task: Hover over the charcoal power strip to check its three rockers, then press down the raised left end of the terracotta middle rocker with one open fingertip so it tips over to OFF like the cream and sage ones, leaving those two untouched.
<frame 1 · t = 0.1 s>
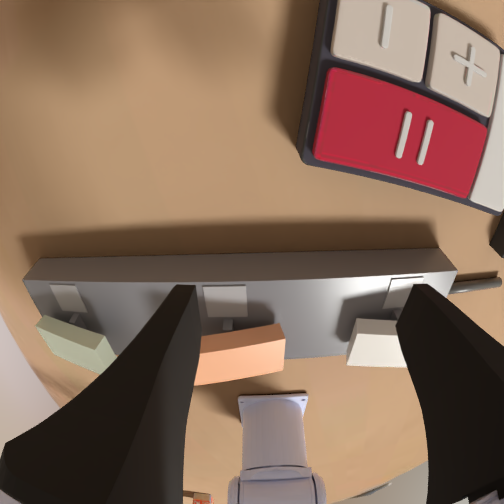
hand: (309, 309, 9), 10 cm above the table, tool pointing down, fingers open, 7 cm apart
rocker 2: (76, 346, 19), point 5 cm above the table, hinge at -12.0°
calculator: (419, 96, 14), on the table
stack of blocks: (204, 496, 84), on the table
rocker 1: (396, 345, 18), point 5 cm above the table, hinge at -12.0°
rocker middle: (230, 357, 19), point 5 cm above the table, hinge at 12.0°
power strip: (231, 297, 22), on the table
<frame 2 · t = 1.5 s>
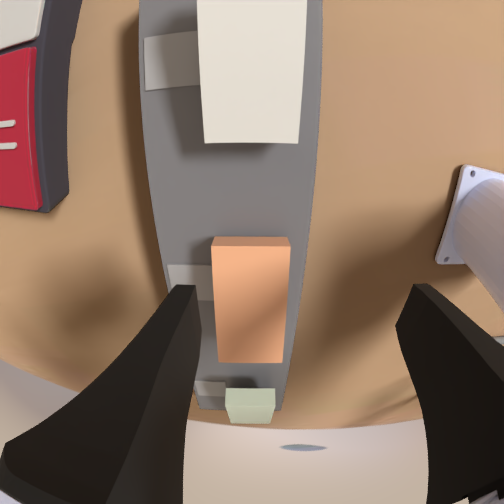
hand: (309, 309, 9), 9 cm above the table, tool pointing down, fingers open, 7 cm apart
rocker 2: (250, 408, 22), point 5 cm above the table, hinge at -12.0°
calculator: (17, 93, 13), on the table
rocker 1: (251, 53, 9), point 5 cm above the table, hinge at -12.0°
rocker middle: (250, 304, 15), point 5 cm above the table, hinge at 12.0°
power strip: (235, 254, 19), on the table
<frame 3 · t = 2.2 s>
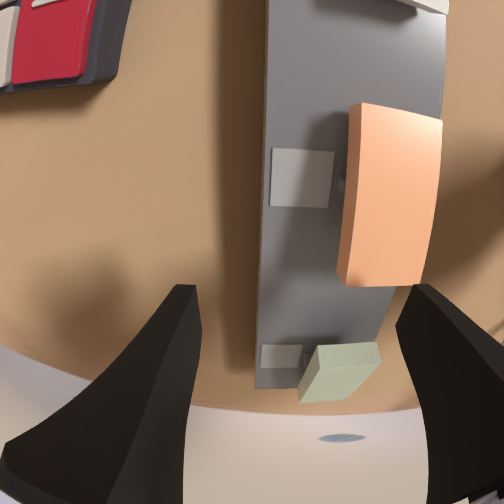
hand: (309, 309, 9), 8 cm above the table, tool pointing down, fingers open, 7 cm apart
rocker 2: (334, 377, 17), point 5 cm above the table, hinge at -12.0°
rocker middle: (391, 198, 11), point 5 cm above the table, hinge at 12.0°
power strip: (337, 162, 15), on the table
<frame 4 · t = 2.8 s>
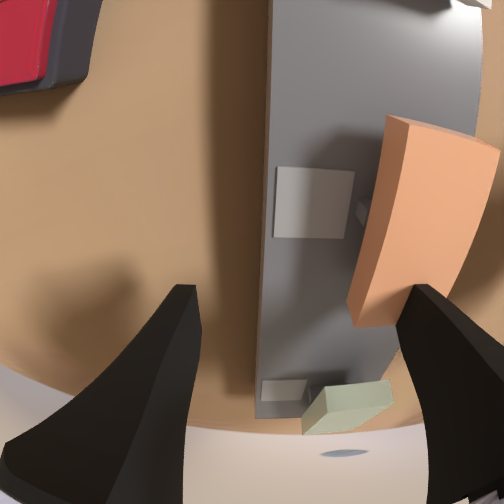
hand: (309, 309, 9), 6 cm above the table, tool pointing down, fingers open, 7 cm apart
rocker 2: (340, 412, 15), point 5 cm above the table, hinge at -12.0°
rocker middle: (421, 235, 8), point 5 cm above the table, hinge at -1.8°, touching gripper
power strip: (352, 179, 12), on the table
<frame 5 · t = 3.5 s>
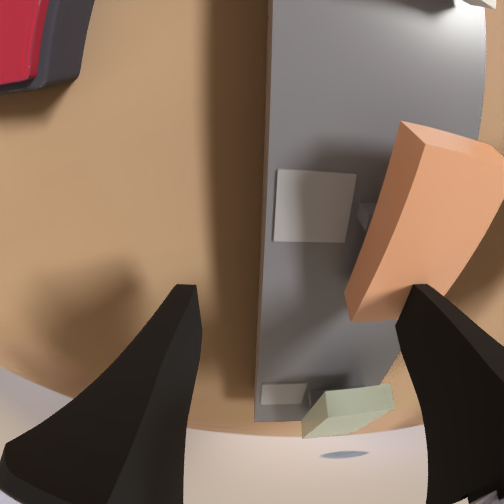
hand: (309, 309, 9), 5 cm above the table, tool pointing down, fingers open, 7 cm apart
rocker 2: (341, 416, 15), point 5 cm above the table, hinge at -12.0°
rocker middle: (424, 241, 8), point 5 cm above the table, hinge at -12.2°, touching gripper
power strip: (353, 181, 12), on the table
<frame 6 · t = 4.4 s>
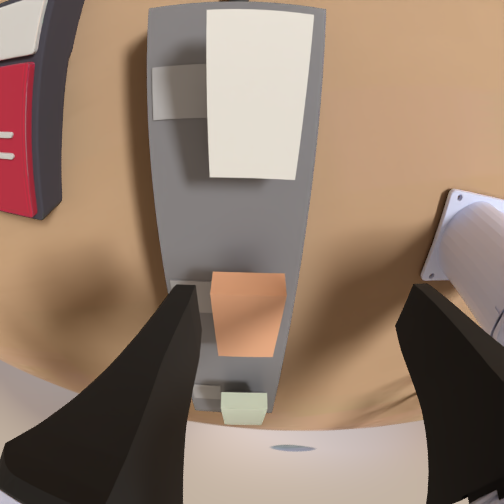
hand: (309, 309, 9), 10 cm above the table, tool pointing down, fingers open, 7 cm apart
rocker 2: (243, 410, 23), point 5 cm above the table, hinge at -12.0°
calculator: (15, 100, 13), on the table
rocker 1: (256, 94, 10), point 5 cm above the table, hinge at -12.0°
rocker middle: (246, 321, 17), point 5 cm above the table, hinge at -12.0°
power strip: (233, 269, 21), on the table
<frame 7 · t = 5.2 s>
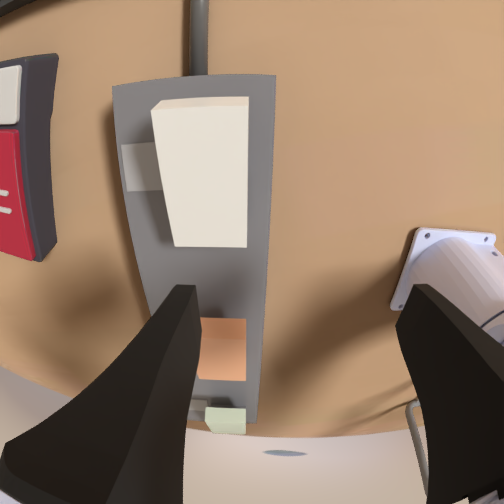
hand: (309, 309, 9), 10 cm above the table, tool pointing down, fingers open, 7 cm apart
rocker 2: (227, 422, 26), point 5 cm above the table, hinge at -12.0°
calculator: (8, 151, 16), on the table
rocker 1: (206, 178, 12), point 5 cm above the table, hinge at -12.0°
rocker middle: (219, 353, 19), point 5 cm above the table, hinge at -12.0°
newton's cradle: (479, 375, 34), on the table
power strip: (211, 303, 23), on the table
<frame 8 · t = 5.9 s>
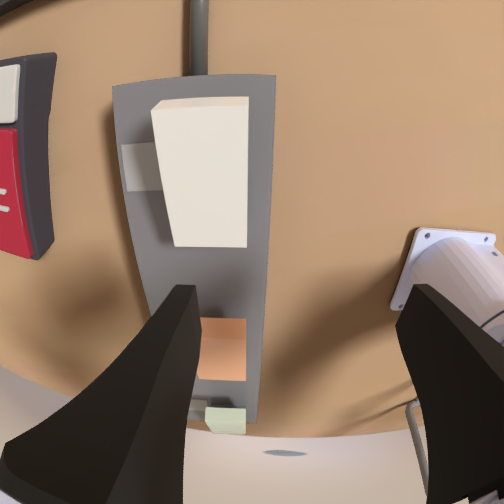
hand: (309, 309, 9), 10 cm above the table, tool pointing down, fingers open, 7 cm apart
rocker 2: (227, 422, 26), point 5 cm above the table, hinge at -12.0°
calculator: (6, 149, 16), on the table
rocker 1: (206, 178, 12), point 5 cm above the table, hinge at -12.0°
rocker middle: (219, 353, 19), point 5 cm above the table, hinge at -12.0°
newton's cradle: (479, 375, 34), on the table
power strip: (211, 303, 23), on the table
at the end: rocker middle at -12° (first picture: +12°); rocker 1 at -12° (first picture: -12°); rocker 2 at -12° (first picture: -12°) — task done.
